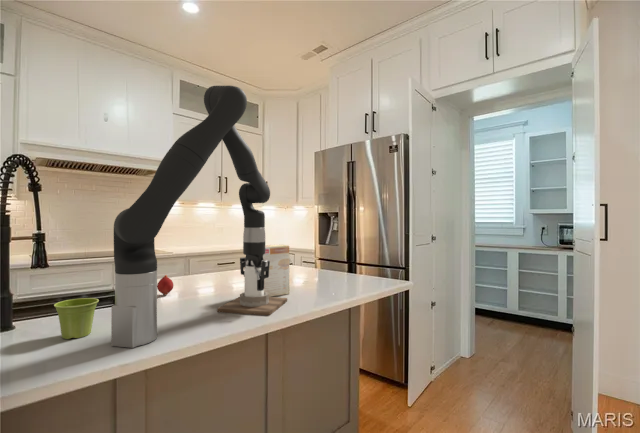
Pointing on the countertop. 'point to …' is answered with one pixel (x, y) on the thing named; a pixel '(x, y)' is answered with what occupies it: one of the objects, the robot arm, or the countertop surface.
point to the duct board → (253, 310)
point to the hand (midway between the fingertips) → (254, 288)
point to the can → (252, 282)
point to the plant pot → (76, 316)
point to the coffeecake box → (277, 270)
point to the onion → (165, 285)
